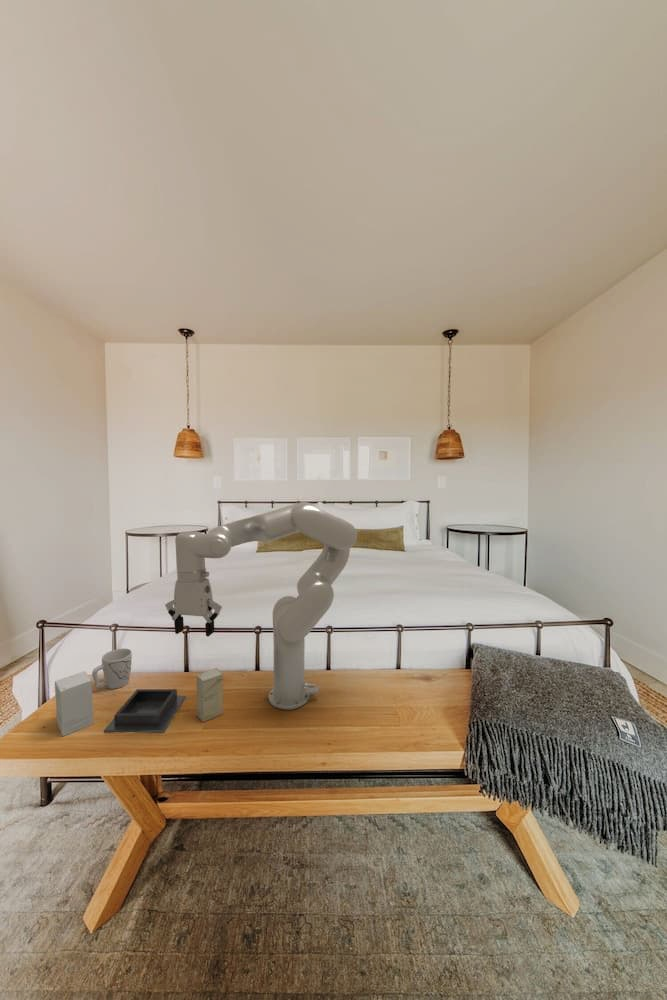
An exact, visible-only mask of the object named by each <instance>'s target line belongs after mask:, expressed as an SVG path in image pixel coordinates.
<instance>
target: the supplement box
mask: <svg viewBox="0 0 667 1000" xmlns="http://www.w3.org/2000/svg"><path fill="white" fill-rule="evenodd" d="M54 693H55V708H56V709H55V712H56V724H57V727H58V729H59V732H60V735H61V737H65V736H67V735H70V734H72V733H74V732H75V733H76V732H77V731H80V730H83V729H84V728H86V727H90V726H91V725H93V724H94V706H93V705H94V703H93V685H92V679H91V677H90V676H89V675H88V673H87V672H86V671H81V672H78V673H74V674H72V675H68V676H66V677H63V678H60V679H58V680H57V679H56V680H55V681H54Z"/></svg>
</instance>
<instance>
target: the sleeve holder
mask: <svg viewBox="0 0 667 1000" xmlns="http://www.w3.org/2000/svg"><path fill="white" fill-rule="evenodd" d="M185 700H186V695H178V690H177V689H176V688H175V689H174V688H173V689H172V688H171V689H167V688H165V689H163V688H162V689H161V688H160V689H157V688H156V689H154V688H153V689H152V688H151V689H150V688H148V689H146V688H145V689H144V688H143V689H142V688H141V689H140V688H138V689H136V690H135V691H134V692H133V693H132V694H131V696H129V698H128V699H127V701H125V703H124V704H123V705H122V706H121V707H120V708H119V709H118V711H117V712H116V713H115V714H114V715H113V716H114V717H113V719H112V720H111V721H110V722H109V724H108V725H107V726H106V727H105V728H104V729H103V733H104V734H106V733H105V732H154V734H160V733H161V734H162V733H163V734H164V733H165V732H166V730H167V728H168V727H169V725H170V724H171V722H172V721H173V719H174V717H175V716H176V714H177V713H176V712H178V711H179V709H180V708H181V706H182V705H181V704H183V703H184V701H185ZM174 715H175V716H174ZM172 718H173V719H172ZM171 720H172V721H171Z"/></svg>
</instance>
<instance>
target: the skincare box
mask: <svg viewBox="0 0 667 1000" xmlns="http://www.w3.org/2000/svg"><path fill="white" fill-rule="evenodd" d="M223 699H224V698H223V672H222V671H220V669H218V668H217V667H214V668H212V669H210V670H207V671H204V672H201V673H199V674H196V716H197V717H198V719H199V720H200V721H201V722H202V723H205V722H207V721H209V720H211V719H214V718H216V717H219V716H220V715H223V710H224V709H223V707H224V706H223V704H224V703H223V701H224V700H223Z"/></svg>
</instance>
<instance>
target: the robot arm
mask: <svg viewBox="0 0 667 1000" xmlns="http://www.w3.org/2000/svg"><path fill="white" fill-rule="evenodd" d="M298 533H302V534H304V535H305V536H306V537H308V538H311V539H313V540H315V541H317V542H320V543H322V544H323V545H324V546H323V548H322V550H321V552H320V554H319V556H317V558H316V559H315V560H314V562H313V563H312V564H311V565H310V567H309V568H307V570H306V571H305V572H304V573H303V574H302V576H301V577H300V578H299V579H298V582H297V583H296V584H297V585H296V588H297V593H298V595H297V597H295V596H292V595H287V596H283V597H281V598H279V599H278V600H277V601H276V602H275V604H274V606H273V609H272V633H273V637H272V638H273V641H272V642H273V688H272V689H270V691H269V693H268V702H269V703H270V705H271V706H272V707H274V708H275V709H276V708H277V709H279V710H287V711H288V710H295V709H299V708H300V707H302V706H303V705H305V704H306V703H307V702H308V701H309V699H310V695H319V694H320V693H319V692H320V691H319V689H320V688H319V687H316V683H309V682H307V678H305V646H306V644H305V642H306V641H305V640H306V639H305V637H307V636H308V635H309V633H310V632H312V630H313V629H314V628H315V626H316V625H317V624H318V623H319V622H320V620H321V619H322V618H323V617H324V616H325V615H326V613H327V612H328V611H329V609H330V608H331V606H332V603H333V601H334V595H335V594H334V589H333V586H332V585H333V584H334V582H335V581H336V580H337V578H338V577H339V575H340V574H341V573H342V572H343V570H344V569H345V567H346V565H347V563H348V561H349V557H350V551H351V549H352V548H353V546H355V545H356V542H357V541H358V532H357V530H356V527H355V526H354V525H353V524H351V523H350V522H348V521H346V520H345V519H343V518H340V517H337V516H335V515H333V514H331V513H329V512H327V511H325V510H324V509H321V508H320V507H318V506H316V505H314V504H313V503H311V502H307V501H301V502H296V503H294V504H291V505H287V506H284V507H281V508H278V509H274V510H271V511H268V512H264V513H261V514H258V515H253V516H250V517H247V518H242V519H238V520H233V521H232V522H228V523H225V524H222V525H219V526H216V527H213V528H212V529H211V530H210V531H209V532H208V533H202V532H201V531H193V530H192V531H185V532H184V531H183V532H180V533H177V535H175V540H174V541H175V543H174V544H175V555H176V556H175V558H176V574H177V575H176V576H177V577H176V580H175V583H174V584H175V585H174V591H173V592H174V593H173V599H172V600H170V601H169V602H167V603H165V606H164V607H165V608H166V610H167V613H168V614H169V616H170V617H171V620H172V621H173V622H174V624H173V625H174V632H175V634H176V635H178V634H180V633H181V632H182V631H184V629H185V624H184V623H185V622H184V616H189V617H190V616H193V617H203V618H204V620H205V621H206V622H205V625H204V626H205V636H206V637H210V636H212V634H214V632H215V620H216V619H217V617H218V616H220V613H221V611H222V609H223V607H222V605H220V604H219V603H217V602H215V601H214V599H213V598H214V597H213V591H212V585H211V582H210V578H208V577H210V572H209V571H207V570H206V559H221V558H225V557H227V555H228V554H229V553H230V551H231V549H232V547H236V546H240V545H243V544H246V543H251V542H264V543H267V542H270V543H271V542H273V541H276V540H279V539H282V538H285V537H288V536H291V535H294V534H298ZM213 610H214V612H213Z"/></svg>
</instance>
